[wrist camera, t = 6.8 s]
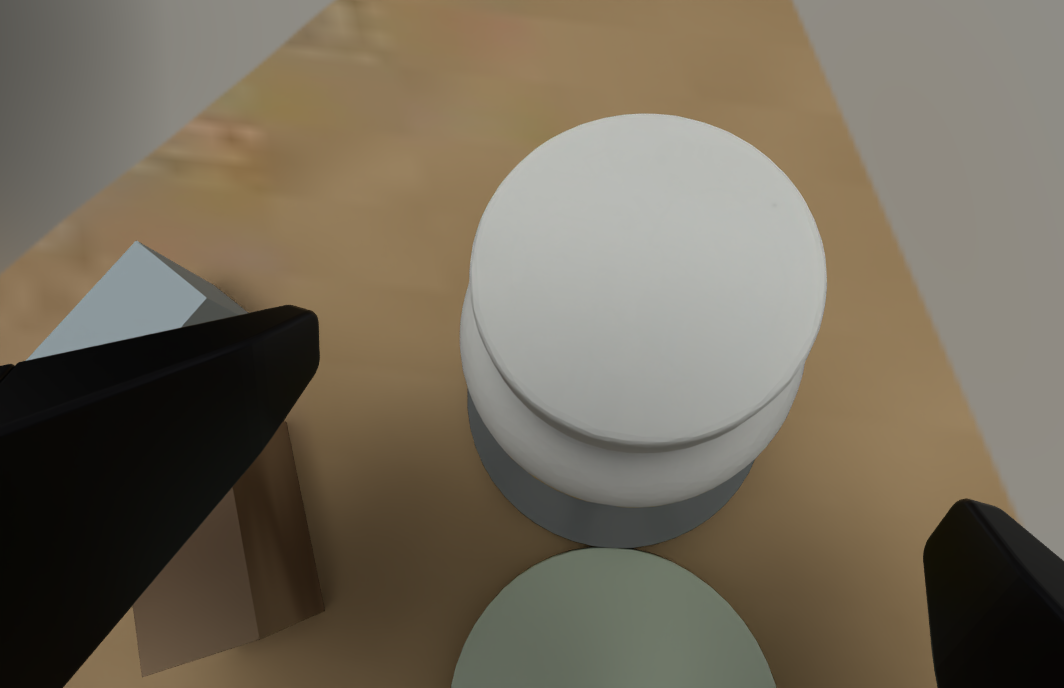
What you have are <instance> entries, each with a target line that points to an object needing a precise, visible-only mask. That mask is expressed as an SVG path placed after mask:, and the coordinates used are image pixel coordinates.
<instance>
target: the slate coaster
mask: <svg viewBox="0 0 1064 688" xmlns="http://www.w3.org/2000/svg"><path fill="white" fill-rule="evenodd" d="M468 414H469V422H470V428H471V432H472V436H473V439H474V443H475V446H476V449H477V451H478V454H479V456H480V458H481V461H482V463H483V465H484V467H485V469H486V470H487V472H488V474H489V475H490V477H491V479H492V481H493V482H494V483H495V485H496V486H497V487H498V488H499V490H500V491H501V492H502V494H503V495H504V496H505V497H506V498H507V499H508V500H509V501H510V502H511V503H512V504H513V505H514V506H515V507H516V508H517V509H518V510H519V511H520V512H521V513H523V514H524V515H525V516H527V517H528V518H529V519H531V520H532V521H533V522H535V523H536V524H538V525H540V526H541V527H543V528H545V529H547V530H549V531H550V532H552V533H554V534H557V535H559V536H562V537H564V538H567V539H569V540H572V541H575V542H579V543H583V544H587V545H591V546H598V547H607V548H635V547H641V546H647V545H653V544H657V543H660V542H663V541H667V540H670V539H673V538H675V537H678V536H680V535H682V534H684V533H686V532H688V531H690V530H692V529H694V528H696V527H697V526H699V525H700V524H702V523H703V522H705V521H706V520H708V519H709V518H710V517H712V516H713V515H714V514H715V513H716V512H717V511H718V510H720V509H721V508H722V507H723V506H724V505H725V504H726V503H727V502H728V501H729V499H730V498H731V497H732V496H733V495H734V494H735V492H736V491H737V490H738V489H739V487H740V486H741V484H742V483H743V481H744V479H745V478H746V476H747V475H748V473H749V471H750V469H751V467H752V465H753V462H754V460H755V459H754V460H753V461H752V462H751V463H750V464H749V465H747V466H746V467H745V468H744V469H742V470H741V471H740V472H738V473H737V474H736V475H734V476H733V477H731V478H730V479H729V480H727V481H725V482H724V483H722V484H720V485H718V486H717V487H715V488H713V489H711V490H709V491H707V492H704V493H702V494H700V495H697V496H695V497H692V498H689V499H686V500H683V501H679V502H675V503H671V504H666V505H661V506H655V507H641V508H627V507H618V506H612V505H605V504H599V503H593V502H587V501H583V500H580V499H577V498H574V497H571V496H569V495H567V494H564V493H562V492H560V491H557V490H555V489H553V488H551V487H550V486H548V485H546V484H544V483H543V482H541V481H539V480H538V479H536V478H534V477H533V476H532V475H531V474H529V473H528V472H527V471H526V470H524V469H523V468H522V467H521V466H520V465H519V464H517V463H516V462H515V461H514V460H513V459H512V458H511V457H510V456H509V455H508V454H507V453H506V452H505V451H504V450H503V448H502V447H501V446H500V445H499V444H498V442H497V441H496V440H495V438H494V437H493V436H492V434H491V433H490V431H489V430H488V428H487V427H486V425H485V424H484V422H483V421H482V419H481V417H480V415H479V413H478V411H477V409H476V407H475V405H474V402H473V400H472V398H471V396H470V393H469V390H468Z"/></svg>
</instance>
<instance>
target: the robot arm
mask: <svg viewBox="0 0 1064 688" xmlns="http://www.w3.org/2000/svg"><path fill="white" fill-rule="evenodd" d="M319 360H320V351H319V323H318V318H317V315H316V314H315V313H314V312H313V311H311V310H307V309H304V308H300V307H297V306H293V305H284V306H279V307H275V308H270V309H265V310H261V311H256V312H251V313H247V314H242V315H237V316H233V317H228V318H223V319H218V320H214V321H209V322H204V323H200V324H195V325H190V326H186V327H181V328H176V329H172V330H167V331H162V332H158V333H153V334H148V335H144V336H139V337H134V338H130V339H125V340H120V341H116V342H111V343H106V344H102V345H97V346H92V347H88V348H83V349H78V350H74V351H69V352H64V353H60V354H55V355H50V356H46V357H41V358H36V359H31V360H27V361H22V362H19V363H17V364H16V365H15V366H14V365H13V364H7V365H3V366H0V688H63V687H64V686H65V685H66V683H67V682H68V681H69V680H70V679H71V678H72V676H73V675H74V674H75V673H76V672H77V670H78V669H79V668H80V667H81V666H82V665H83V663H84V662H85V661H86V660H87V659H88V657H89V656H90V655H91V654H92V653H93V652H94V650H95V649H96V648H97V647H98V646H99V644H100V643H101V642H102V641H103V640H104V639H105V637H106V636H107V635H108V634H109V633H110V631H111V630H112V629H113V628H114V627H115V626H116V624H117V623H118V622H119V621H120V620H121V618H122V617H123V616H124V615H125V614H126V613H127V611H128V610H129V609H130V608H131V607H132V605H133V604H134V603H135V602H136V601H137V600H138V598H139V597H140V596H141V595H142V594H143V592H144V591H145V590H146V589H147V588H148V587H149V585H150V584H151V583H152V582H153V581H154V579H155V578H156V577H157V576H158V575H159V573H160V572H161V571H162V570H163V569H164V568H165V566H166V565H167V564H168V563H169V562H170V560H171V559H172V558H173V557H174V556H175V555H176V553H177V552H178V551H179V550H180V549H181V547H182V546H183V545H184V544H185V543H186V542H187V540H188V539H189V538H190V537H191V536H192V534H193V533H194V532H195V531H196V530H197V529H198V527H199V526H200V525H201V524H202V523H203V521H204V520H205V519H206V518H207V517H208V516H209V514H210V513H211V512H212V511H213V510H214V508H215V507H216V506H217V505H218V504H219V503H220V501H221V500H222V499H223V498H224V497H225V495H226V494H227V493H228V492H229V491H230V490H231V488H232V487H233V486H234V485H235V484H236V482H237V481H238V480H239V479H240V478H241V477H242V475H243V474H244V473H245V472H246V471H247V469H248V468H249V467H250V466H251V465H252V463H253V462H254V461H255V460H256V459H257V457H258V456H259V455H260V454H261V452H262V451H263V450H264V448H265V447H266V446H267V444H268V443H269V441H270V440H271V439H272V437H273V436H274V434H275V433H276V431H277V430H278V428H279V427H280V425H281V424H282V422H283V421H284V419H285V418H286V416H287V415H288V413H289V412H290V410H291V409H292V407H293V406H294V404H295V403H296V401H297V400H298V399H299V397H300V396H301V394H302V393H303V391H304V390H305V388H306V387H307V385H308V384H309V382H310V381H311V379H312V378H313V376H314V375H315V373H316V371H317V368H318V365H319ZM923 563H924V573H925V584H926V594H927V605H928V615H929V626H930V636H931V647H932V656H933V663H934V671H935V676H936V681H937V687H938V688H1064V561H1063V560H1062V559H1060V558H1059V557H1058V556H1057V555H1056V554H1055V553H1053V552H1052V551H1051V550H1050V549H1049V548H1047V547H1046V546H1045V545H1044V544H1043V543H1041V542H1040V541H1039V540H1038V539H1036V538H1035V537H1034V536H1033V535H1032V534H1031V533H1029V532H1028V531H1027V530H1026V529H1025V528H1023V527H1022V526H1021V525H1020V524H1019V523H1017V522H1016V521H1015V520H1014V519H1013V518H1011V517H1010V516H1009V515H1008V514H1007V513H1005V512H1004V511H1003V510H1001V509H1000V508H998V507H995V506H992V505H988V504H985V503H981V502H978V501H974V500H971V499H961V500H959V501H957V502H956V503H955V504H954V505H953V506H952V507H951V508H950V510H949V511H948V513H947V514H946V515H945V517H944V518H943V519H942V521H941V522H940V523H939V525H938V526H937V528H936V529H935V530H934V532H933V533H932V534H931V536H930V537H929V539H928V540H927V542H926V545H925V548H924V553H923Z"/></svg>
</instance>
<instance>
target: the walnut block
mask: <svg viewBox="0 0 1064 688" xmlns="http://www.w3.org/2000/svg"><path fill="white" fill-rule="evenodd" d="M133 611H134V619H135V626H136V634H137V642H138V650H139V658H140V665H141V673H142V677H145V676H148V675H151V674H154V673H157V672H160V671H163V670H166V669H169V668H172V667H176V666H179V665H182V664H185V663H188V662H191V661H194V660H197V659H200V658H204V657H207V656H210V655H213V654H216V653H219V652H222V651H225V650H228V649H232V648H235V647H238V646H241V645H244V644H247V643H250V642H253V641H256V640H260V639H262V638H264V637H266V636H269V635H271V634H273V633H275V632H278V631H280V630H282V629H284V628H287V627H289V626H291V625H293V624H296V623H298V622H300V621H302V620H305V619H307V618H309V617H311V616H314V615H316V614H318V613H320V612H323V611H325V609H324V604H323V599H322V594H321V589H320V584H319V580H318V575H317V570H316V565H315V560H314V555H313V550H312V545H311V540H310V536H309V531H308V526H307V521H306V516H305V511H304V506H303V501H302V497H301V492H300V487H299V482H298V477H297V472H296V467H295V462H294V457H293V453H292V448H291V443H290V438H289V433H288V428H287V423H286V422H284V421H283V422H282V424H281V425H280V427H279V428H278V430H277V431H276V433H275V434H274V436H273V437H272V439H271V440H270V441H269V443H268V444H267V446H266V447H265V448H264V450H263V451H262V452H261V454H260V455H259V456H258V457H257V459H256V460H255V461H254V462H253V463H252V465H251V466H250V467H249V468H248V469H247V471H246V472H245V473H244V474H243V475H242V477H241V478H240V479H239V480H238V481H237V482H236V484H235V485H234V486H233V487H232V488H231V490H230V491H229V492H228V493H227V494H226V495H225V497H224V498H223V499H222V500H221V501H220V503H219V504H218V505H217V506H216V507H215V508H214V510H213V511H212V512H211V513H210V514H209V516H208V517H207V518H206V519H205V520H204V521H203V523H202V524H201V525H200V526H199V527H198V529H197V530H196V531H195V532H194V533H193V534H192V536H191V537H190V538H189V539H188V540H187V542H186V543H185V544H184V545H183V546H182V547H181V549H180V550H179V551H178V552H177V553H176V555H175V556H174V557H173V558H172V559H171V560H170V562H169V563H168V564H167V565H166V566H165V568H164V569H163V570H162V571H161V572H160V573H159V575H158V576H157V577H156V578H155V579H154V581H153V582H152V583H151V584H150V585H149V587H148V588H147V589H146V590H145V591H144V592H143V594H142V595H141V596H140V597H139V598H138V600H137V601H136V602H135V603H134V604H133Z"/></svg>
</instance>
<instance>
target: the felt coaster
mask: <svg viewBox="0 0 1064 688" xmlns="http://www.w3.org/2000/svg"><path fill="white" fill-rule="evenodd" d="M451 688H776V685H775V682H774V679H773V677H772V674H771V671H770V668H769V666H768V663H767V661H766V659H765V657H764V655H763V653H762V651H761V649H760V647H759V645H758V643H757V641H756V639H755V638H754V636H753V635H752V633H751V632H750V630H749V629H748V627H747V626H746V624H745V623H744V621H743V620H742V619H741V618H740V616H739V615H738V614H737V613H736V612H735V610H734V609H733V608H732V607H731V606H730V605H729V603H728V602H727V601H726V600H724V599H723V598H722V597H721V596H720V595H719V594H718V593H717V592H716V591H715V590H714V589H713V588H712V587H710V586H709V585H708V584H706V583H705V582H703V581H702V580H701V579H699V578H698V577H697V576H695V575H694V574H692V573H691V572H690V571H688V570H686V569H684V568H683V567H681V566H679V565H677V564H675V563H673V562H672V561H670V560H667V559H665V558H662V557H660V556H657V555H655V554H652V553H648V552H644V551H640V550H636V549H632V548H607V547H598V546H593V547H586V548H580V549H574V550H570V551H567V552H564V553H560V554H557V555H554V556H552V557H550V558H547V559H545V560H543V561H541V562H539V563H537V564H535V565H533V566H532V567H530V568H529V569H527V570H526V571H524V572H523V573H521V574H520V575H518V576H517V577H516V578H515V579H514V580H512V581H511V582H510V583H509V584H508V585H507V586H505V587H504V588H503V589H502V591H501V592H500V593H499V594H498V595H497V596H496V597H495V598H494V600H493V601H492V602H491V603H490V604H489V605H488V606H487V607H486V609H485V610H484V612H483V613H482V615H481V616H480V618H479V619H478V620H477V622H476V623H475V625H474V627H473V629H472V630H471V632H470V634H469V636H468V638H467V640H466V642H465V644H464V646H463V649H462V652H461V654H460V657H459V660H458V662H457V665H456V668H455V673H454V677H453V681H452V685H451Z"/></svg>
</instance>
